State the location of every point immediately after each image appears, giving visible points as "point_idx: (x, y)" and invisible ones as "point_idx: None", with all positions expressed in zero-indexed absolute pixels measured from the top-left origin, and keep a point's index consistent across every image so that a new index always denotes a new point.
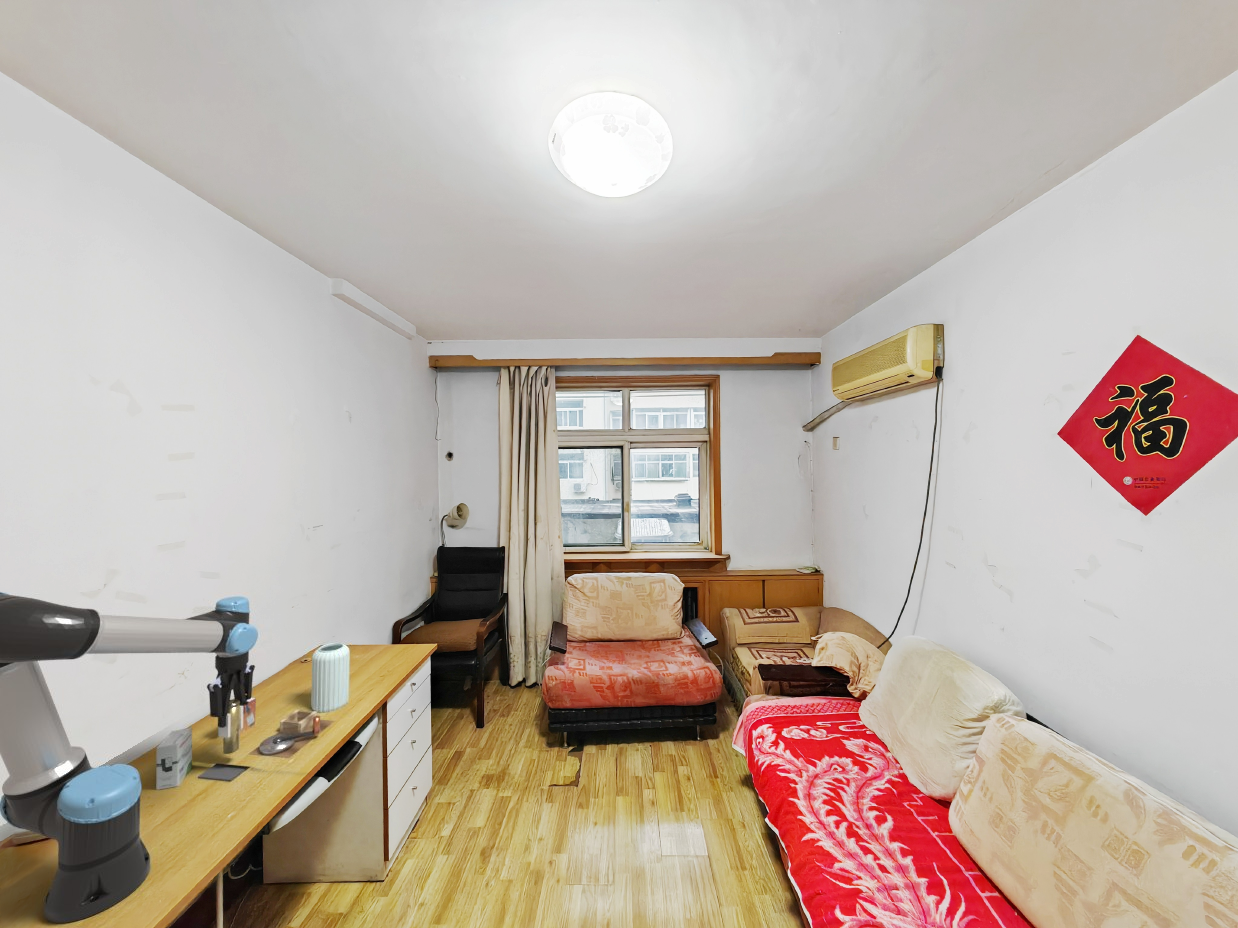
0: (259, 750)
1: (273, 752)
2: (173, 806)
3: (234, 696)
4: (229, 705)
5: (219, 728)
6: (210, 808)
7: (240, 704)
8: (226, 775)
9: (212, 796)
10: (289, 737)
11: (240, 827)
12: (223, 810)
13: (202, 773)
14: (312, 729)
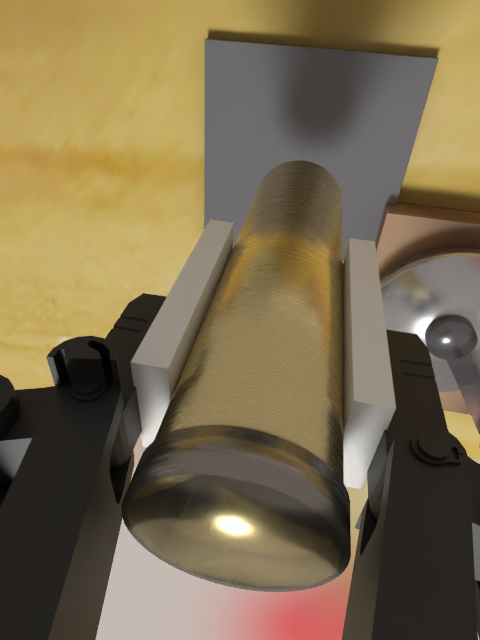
0: (398, 265)
1: None
2: (17, 110)
3: (374, 574)
4: (141, 541)
5: (188, 260)
6: (64, 267)
7: (372, 478)
8: (230, 199)
9: (113, 229)
10: (457, 381)
11: (42, 386)
12: (72, 312)
13: (234, 43)
14: None
